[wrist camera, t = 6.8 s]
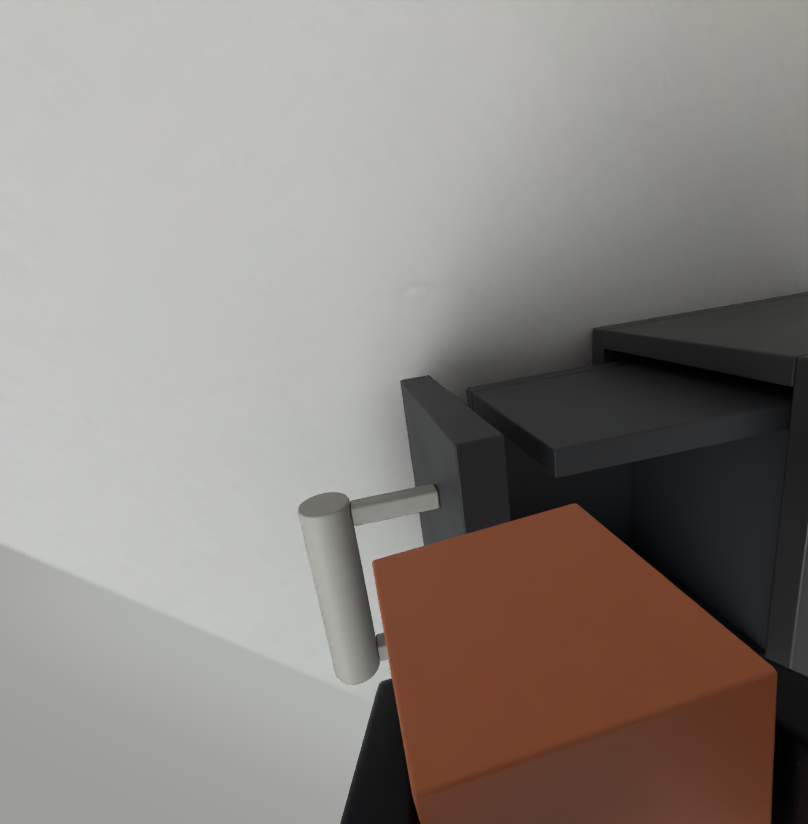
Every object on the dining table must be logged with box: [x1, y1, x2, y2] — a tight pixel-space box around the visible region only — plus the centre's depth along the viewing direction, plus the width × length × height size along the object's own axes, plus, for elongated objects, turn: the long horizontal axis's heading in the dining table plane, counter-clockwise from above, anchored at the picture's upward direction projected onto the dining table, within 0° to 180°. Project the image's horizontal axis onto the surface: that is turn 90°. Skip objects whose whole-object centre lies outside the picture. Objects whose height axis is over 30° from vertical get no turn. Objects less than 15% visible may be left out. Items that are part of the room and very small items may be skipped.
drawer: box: [298, 358, 794, 685], centre depth 16 cm, size 14×10×8 cm
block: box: [372, 503, 777, 824], centre depth 7 cm, size 4×4×4 cm
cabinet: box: [592, 292, 808, 677], centre depth 17 cm, size 11×12×10 cm
